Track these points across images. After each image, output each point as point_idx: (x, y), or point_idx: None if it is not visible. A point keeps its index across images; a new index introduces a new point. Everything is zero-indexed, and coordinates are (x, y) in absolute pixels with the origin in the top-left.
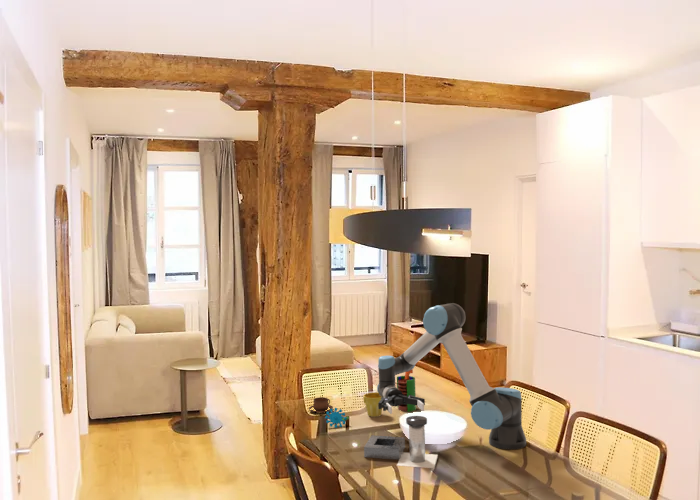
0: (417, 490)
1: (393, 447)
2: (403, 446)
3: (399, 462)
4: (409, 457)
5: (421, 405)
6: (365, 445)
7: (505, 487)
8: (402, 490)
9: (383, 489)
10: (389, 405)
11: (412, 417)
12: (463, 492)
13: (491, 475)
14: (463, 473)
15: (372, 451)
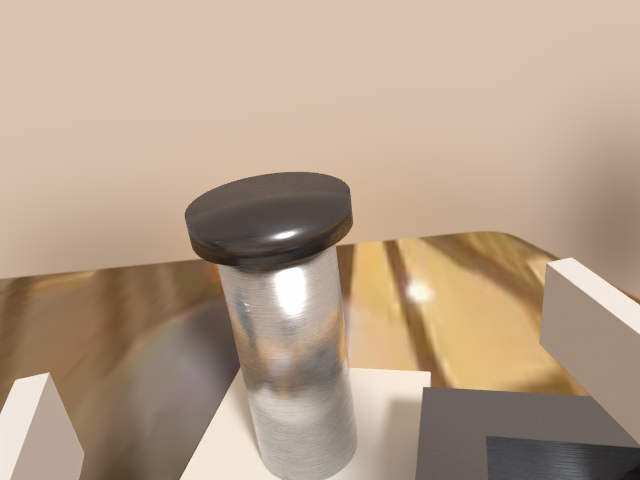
0: (338, 258)
1: (470, 410)
2: None
3: (420, 403)
4: (359, 472)
5: (52, 422)
6: None
7: (49, 297)
8: (388, 254)
9: (453, 251)
10: (619, 304)
11: (294, 212)
12: (197, 265)
13: (23, 358)
14: (124, 363)
15: None
